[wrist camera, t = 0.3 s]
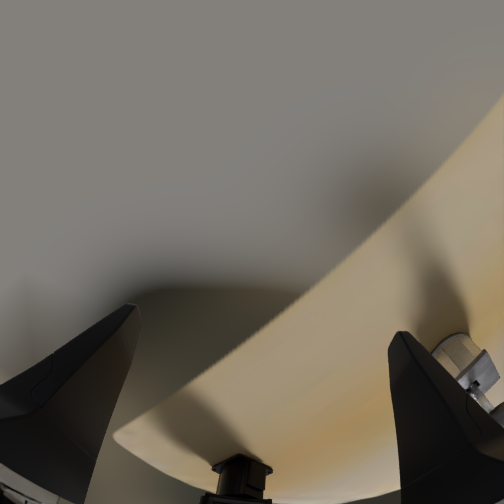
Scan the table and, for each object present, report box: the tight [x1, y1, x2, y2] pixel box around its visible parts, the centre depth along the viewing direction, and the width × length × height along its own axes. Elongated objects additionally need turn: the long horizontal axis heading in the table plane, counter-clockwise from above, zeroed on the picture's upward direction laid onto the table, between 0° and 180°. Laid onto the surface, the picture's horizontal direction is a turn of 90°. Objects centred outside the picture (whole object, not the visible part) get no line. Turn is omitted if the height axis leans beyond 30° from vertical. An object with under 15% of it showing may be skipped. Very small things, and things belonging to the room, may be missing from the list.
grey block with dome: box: [431, 333, 500, 401], centre depth 24 cm, size 7×8×6 cm
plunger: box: [466, 380, 504, 427], centre depth 18 cm, size 5×5×8 cm
